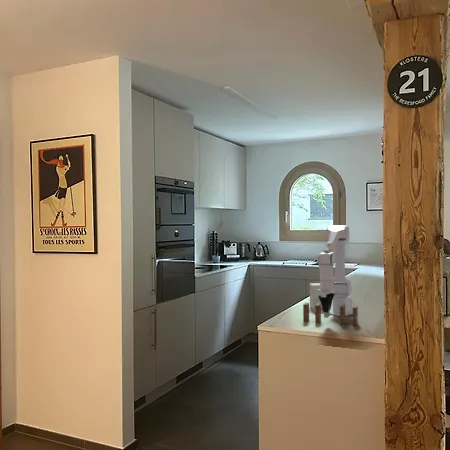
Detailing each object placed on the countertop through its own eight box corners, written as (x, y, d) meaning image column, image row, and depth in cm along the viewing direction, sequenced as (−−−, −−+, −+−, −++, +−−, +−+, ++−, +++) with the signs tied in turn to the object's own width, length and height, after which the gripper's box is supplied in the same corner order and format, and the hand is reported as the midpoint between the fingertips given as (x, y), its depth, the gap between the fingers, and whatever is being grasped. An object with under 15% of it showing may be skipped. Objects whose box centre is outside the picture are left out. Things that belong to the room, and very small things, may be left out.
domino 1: (303, 321, 214) (303, 304, 214) (305, 319, 218) (305, 302, 218) (306, 322, 213) (306, 304, 213) (309, 319, 218) (309, 302, 218)
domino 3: (324, 317, 202) (323, 299, 202) (326, 315, 207) (325, 297, 206) (327, 317, 202) (327, 299, 201) (329, 315, 206) (329, 297, 206)
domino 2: (315, 322, 212) (315, 305, 212) (317, 320, 216) (317, 303, 216) (318, 323, 211) (318, 305, 211) (321, 320, 216) (320, 303, 215)
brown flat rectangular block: (352, 325, 205) (352, 307, 205) (354, 323, 210) (354, 305, 210) (356, 326, 205) (356, 307, 205) (357, 323, 209) (357, 305, 209)
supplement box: (323, 306, 249) (323, 282, 248) (326, 309, 241) (326, 284, 241) (309, 306, 248) (309, 283, 248) (312, 309, 241) (312, 285, 241)
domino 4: (339, 324, 207) (339, 306, 207) (341, 322, 212) (341, 304, 212) (343, 325, 207) (343, 307, 207) (345, 322, 211) (345, 305, 211)
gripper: (320, 277, 212) (321, 307, 212) (313, 282, 199) (314, 313, 199) (336, 278, 209) (336, 308, 210) (330, 282, 196) (330, 314, 196)
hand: (326, 310), depth 204 cm, fingers closed on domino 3, 5 cm apart
